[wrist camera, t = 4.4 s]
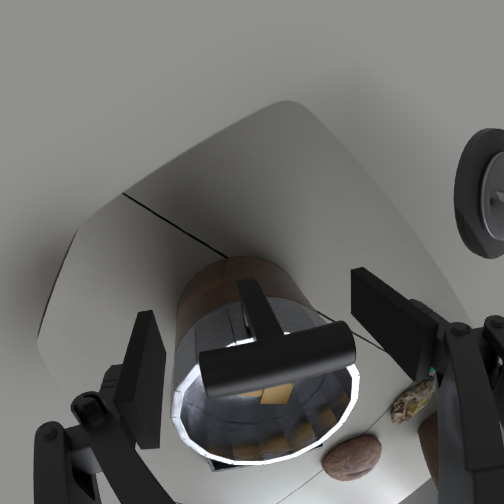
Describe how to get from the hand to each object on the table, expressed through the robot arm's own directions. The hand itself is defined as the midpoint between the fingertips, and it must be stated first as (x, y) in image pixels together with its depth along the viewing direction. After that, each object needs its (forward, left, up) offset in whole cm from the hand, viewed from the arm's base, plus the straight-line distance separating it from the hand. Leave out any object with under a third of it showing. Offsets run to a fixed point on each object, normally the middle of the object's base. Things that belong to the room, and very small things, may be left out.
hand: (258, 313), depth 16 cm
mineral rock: (-45, +6, -18) cm, 49 cm away
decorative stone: (-44, +22, -18) cm, 53 cm away
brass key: (-8, +9, -7) cm, 14 cm away
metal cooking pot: (-6, +6, -8) cm, 11 cm away
